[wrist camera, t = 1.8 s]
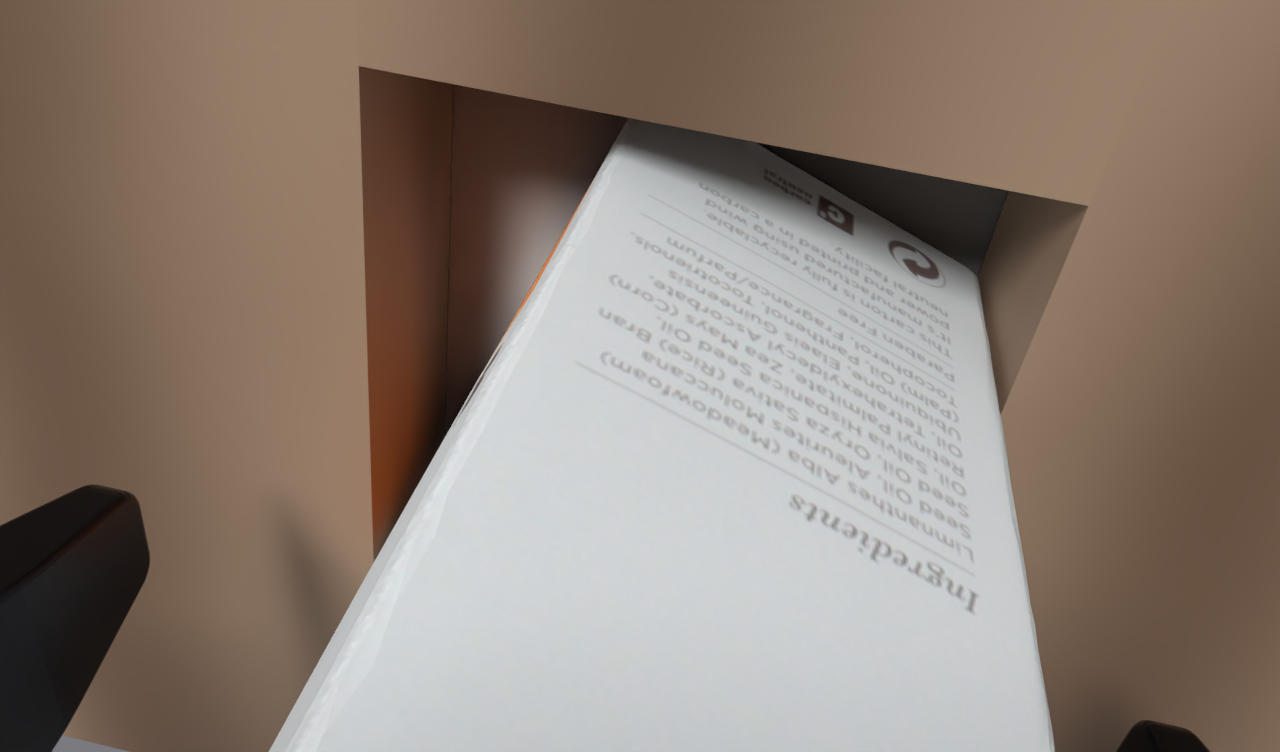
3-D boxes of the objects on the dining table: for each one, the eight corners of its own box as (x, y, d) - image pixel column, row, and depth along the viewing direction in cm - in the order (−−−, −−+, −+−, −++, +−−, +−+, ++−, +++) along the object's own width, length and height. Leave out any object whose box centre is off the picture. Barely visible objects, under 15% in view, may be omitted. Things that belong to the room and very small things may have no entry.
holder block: (1954, -129, 8) (2328, -62, 6) (1178, 848, 16) (1225, 1018, 14) (-181, -472, 9) (-476, -513, 7) (95, 595, 17) (-7, 718, 15)
